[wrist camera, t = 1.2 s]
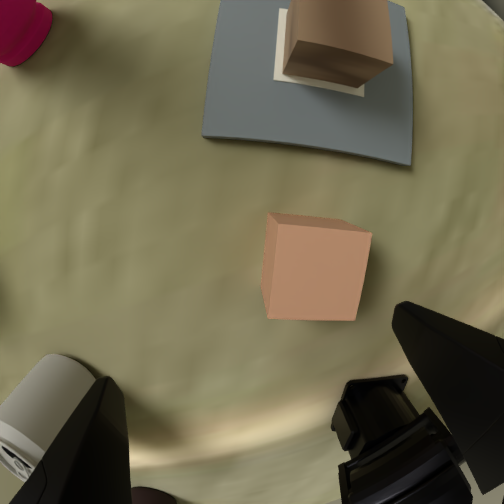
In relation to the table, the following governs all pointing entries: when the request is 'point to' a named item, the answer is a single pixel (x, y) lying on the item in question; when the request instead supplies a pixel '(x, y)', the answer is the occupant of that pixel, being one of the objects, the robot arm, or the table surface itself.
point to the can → (39, 411)
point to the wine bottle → (150, 496)
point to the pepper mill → (22, 29)
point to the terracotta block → (313, 267)
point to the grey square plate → (303, 90)
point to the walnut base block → (337, 40)
